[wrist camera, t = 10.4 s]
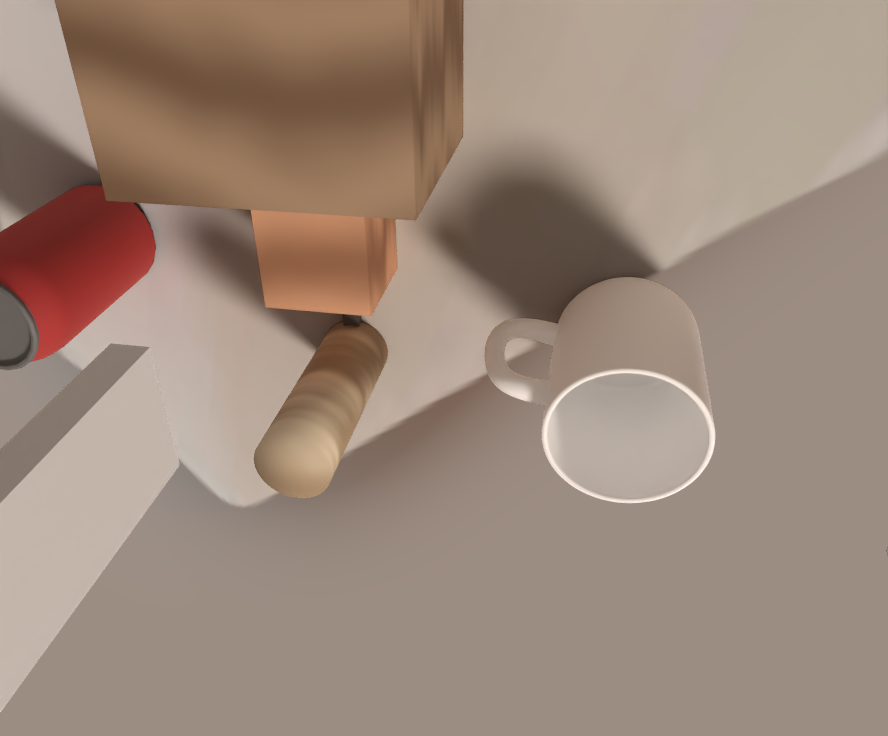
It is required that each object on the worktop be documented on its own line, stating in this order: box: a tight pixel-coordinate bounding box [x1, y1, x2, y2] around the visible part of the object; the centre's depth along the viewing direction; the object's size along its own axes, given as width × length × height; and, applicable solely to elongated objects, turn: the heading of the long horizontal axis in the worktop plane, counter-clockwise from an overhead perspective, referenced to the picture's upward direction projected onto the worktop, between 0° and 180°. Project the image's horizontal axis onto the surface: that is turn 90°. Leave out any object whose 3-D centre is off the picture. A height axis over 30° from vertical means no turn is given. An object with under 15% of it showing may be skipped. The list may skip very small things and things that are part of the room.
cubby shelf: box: [55, 0, 463, 220], centre depth 35 cm, size 11×14×12 cm
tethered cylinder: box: [251, 210, 397, 498], centre depth 43 cm, size 14×6×12 cm, turn 1°
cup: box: [485, 277, 715, 503], centre depth 43 cm, size 8×12×10 cm
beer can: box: [0, 185, 156, 370], centre depth 45 cm, size 7×7×12 cm
